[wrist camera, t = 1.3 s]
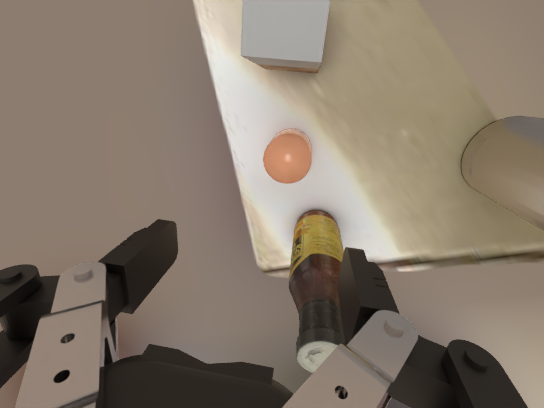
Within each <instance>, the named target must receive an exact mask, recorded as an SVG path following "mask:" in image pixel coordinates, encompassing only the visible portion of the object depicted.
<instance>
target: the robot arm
mask: <svg viewBox="0 0 544 408" xmlns="http://www.w3.org/2000/svg"><path fill="white" fill-rule="evenodd" d="M461 169H462V174H463V177H464V178H465V180H466V182H467V183H468V184H469V185H470V186H471V187H472V188H474V189H475V190H477V191H479V192H480V193H482V194H484V195H485V196H487V197H489V198H490V199H492V200H493V201H495V202H497V203H498V204H500V205H502V206H503V207H505V208H507V209H508V210H510V211H512V212H513V213H515V214H517V215H518V216H520V217H522V218H523V219H525V220H527V221H529V222H530V223H532V224H534V225H535V226H537V227H539V228H540V229H542V230H544V118H535V117H524V116H514V117H507V118H504V119H500V120H498V121H496V122H494V123H491V124H490V125H488V126H487V127H485V128H484V129H482V130H481V131H480V132H479V133H478V134H477V135H475V136H474V137H473V139H472V140H471V141H470V143H469V144H468V146H467V148H466V150H465V152H464V154H463V158H462V166H461ZM177 254H178V243H177V228H176V223H175V222H173V221H167V220H160V219H158V220H156V221H155V222H154V223H153V224H151V225H150V226H149V227H148V228H144V229H141V230H139V231H137V232H134V233H133V234H132V235H131V236H129V237H128V238H127V240H125V241H123V242H122V243H121V244H120V245H118V246H117V247H116V248H114V249H113V250H112V251H111V252H109V253H108V254H107V255H105V256H104V257H103V258H102V259H101V260H99V261H98V262H85V263H81V264H77V265H75V266H72V267H71V268H69V269H67V270H66V271H64V272H63V273H62V274H61V275H60V276H44V277H40V275H39V272H38V269H37V267H36V266H33V265H17V266H12V267H9V268H6V269H3V270H0V323H1V326H2V328H3V331H1V332H0V388H1V387H2V386H3V385H4V384H5V383H6V382H7V381H8V380H9V379H10V378H11V377H12V376H13V375H14V374H15V373H16V372H17V371H18V370H19V369H20V368H21V367H22V366H23V365H24V363H26V362H27V361H28V363H27V367H26V370H25V373H24V377H23V381H22V385H21V388H20V391H19V395H18V399H17V402H16V406H15V408H386V407H387V405H388V403H389V401H390V400H391V398H394V399H396V400H398V401H400V402H402V403H404V404H405V405H407V406H409V407H411V408H528V407H527V405H526V404H525V402H524V401H523V399H522V398H521V396H520V394H519V393H518V391H517V390H516V388H515V387H514V385H513V383H512V382H511V380H510V379H509V377H508V375H507V374H506V373H505V371H504V369H503V368H502V366H501V365H500V363H499V362H498V361H497V360H496V359H495V358H494V357H493V356H492V355H491V354H490V353H489V352H487V351H486V350H484V349H483V348H481V347H480V346H478V345H476V344H474V343H471V342H469V341H465V340H453V341H451V342H450V343H449V345H448V347H447V348H446V347H444V346H442V345H439V344H437V343H434V342H432V341H429V340H427V339H424V338H423V337H421V336H419V335H418V333H417V331H416V328H415V327H414V326H413V324H412V323H411V322H410V321H409V320H407V319H406V318H405V317H404V316H402V315H400V314H399V311H398V309H397V306H396V304H395V301H394V299H393V296H392V294H391V291H390V289H389V286H388V284H387V282H386V279H385V276H384V274H383V271H382V270H381V269H380V268H379V267H378V266H377V265H376V264H375V263H373V262H367V259H366V256H365V253H364V250H362V249H355V248H348V247H346V248H345V250H344V254H343V259H342V263H341V267H340V271H339V276H338V295H339V302H340V310H341V317H342V325H343V332H344V339H345V344H344V343H341V344H339V345H338V346H337V347H336V348H335V349H334V351H333V352H332V353H331V354H330V355H329V356H328V357H327V358H326V359H325V361H324V362H323V363H322V364H321V365H320V366H319V367H318V368H317V369H316V371H315V372H314V373H313V374H312V375H311V376H310V377H309V378H308V379H307V381H306V382H305V383H304V384H303V385H302V386H301V387H300V388H299V389H298V391H297V392H296V393H295V394H293V393H292V392H290V391H289V390H288V389H287V388H286V387H285V386H283V385H282V384H280V383H279V382H277V381H275V380H273V379H272V377H273V370H274V368H271V367H265V366H260V365H255V364H250V363H245V362H235V363H216V364H207V363H204V362H202V361H200V360H198V359H196V358H194V357H192V356H190V355H188V354H186V353H184V352H182V351H180V350H178V349H173V348H168V347H162V346H157V345H152V344H149V345H148V347H147V348H146V350H145V351H144V353H143V354H142V355H136V356H130V357H127V358H123V359H120V360H118V332H117V319H116V316H117V315H118V314H119V313H120V312H124V313H129V314H133V313H134V311H135V310H136V309H137V308H138V306H139V305H140V304H141V303H142V301H143V300H144V299H145V298H146V296H147V295H148V294H149V293H150V292H151V290H152V289H153V288H154V287H155V285H156V284H157V283H158V282H159V280H160V279H161V278H162V276H163V275H164V274H165V273H166V272H167V270H168V269H169V268H170V267H171V266H172V264H173V263H174V261H175V260H176V257H177Z"/></svg>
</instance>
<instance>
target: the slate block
mask: <svg viewBox="0 0 544 408" xmlns="http://www.w3.org/2000/svg"><path fill="white" fill-rule="evenodd" d="M329 6H330V0H243V8H242V38H241V56H242V57H244V58H246V59H248V60H250V61H252V62H254V63H256V64H265V65H276V66H288V67H299V68H311V69H319V68H320V65H321V62H322V55H323V48H324V41H325V34H326V27H327V20H328V13H329Z"/></svg>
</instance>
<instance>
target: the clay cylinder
mask: <svg viewBox="0 0 544 408" xmlns="http://www.w3.org/2000/svg"><path fill="white" fill-rule="evenodd" d="M263 162H264V167H265V169H266V171H267V173H268V174H269V175H270V176H271V177H272V178H273V179H274V180H276V181H278V182H281V183H294V182H297V181H299V180H301V179H302V178H303V177H304V176H305V175H306V174H307V173H308V171H309V169H310V166H311V144H310V141H309V139H308V137H307V136H306V135H305V134H304V133H303V132H301V131H299V130H296V129H286V130H283V131H281V132H279V133H278V134H277V135H276V136H275V137H274V139H273V140H272V141H271V143H270V144H269V145H268V146H267V148H266V150H265V153H264V157H263Z"/></svg>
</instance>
